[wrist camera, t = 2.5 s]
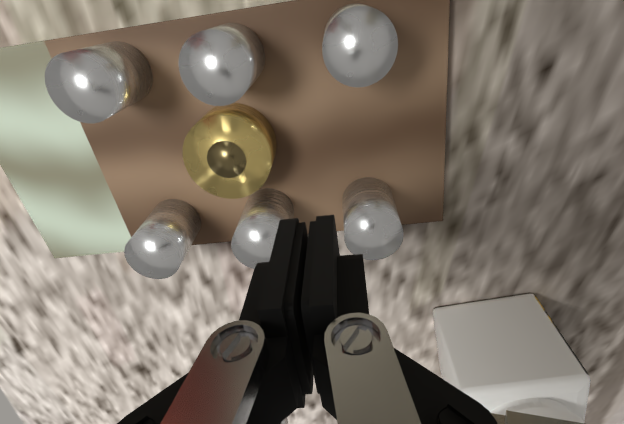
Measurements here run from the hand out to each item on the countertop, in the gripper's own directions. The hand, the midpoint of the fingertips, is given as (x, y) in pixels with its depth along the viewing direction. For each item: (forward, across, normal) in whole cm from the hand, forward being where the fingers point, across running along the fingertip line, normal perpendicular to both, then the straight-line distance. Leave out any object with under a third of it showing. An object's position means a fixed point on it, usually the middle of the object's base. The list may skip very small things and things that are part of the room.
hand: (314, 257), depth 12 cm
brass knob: (+11, +5, -1) cm, 12 cm away
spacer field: (+11, +4, -1) cm, 12 cm away
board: (+12, +7, -1) cm, 14 cm away
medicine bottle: (+12, -10, +17) cm, 23 cm away
